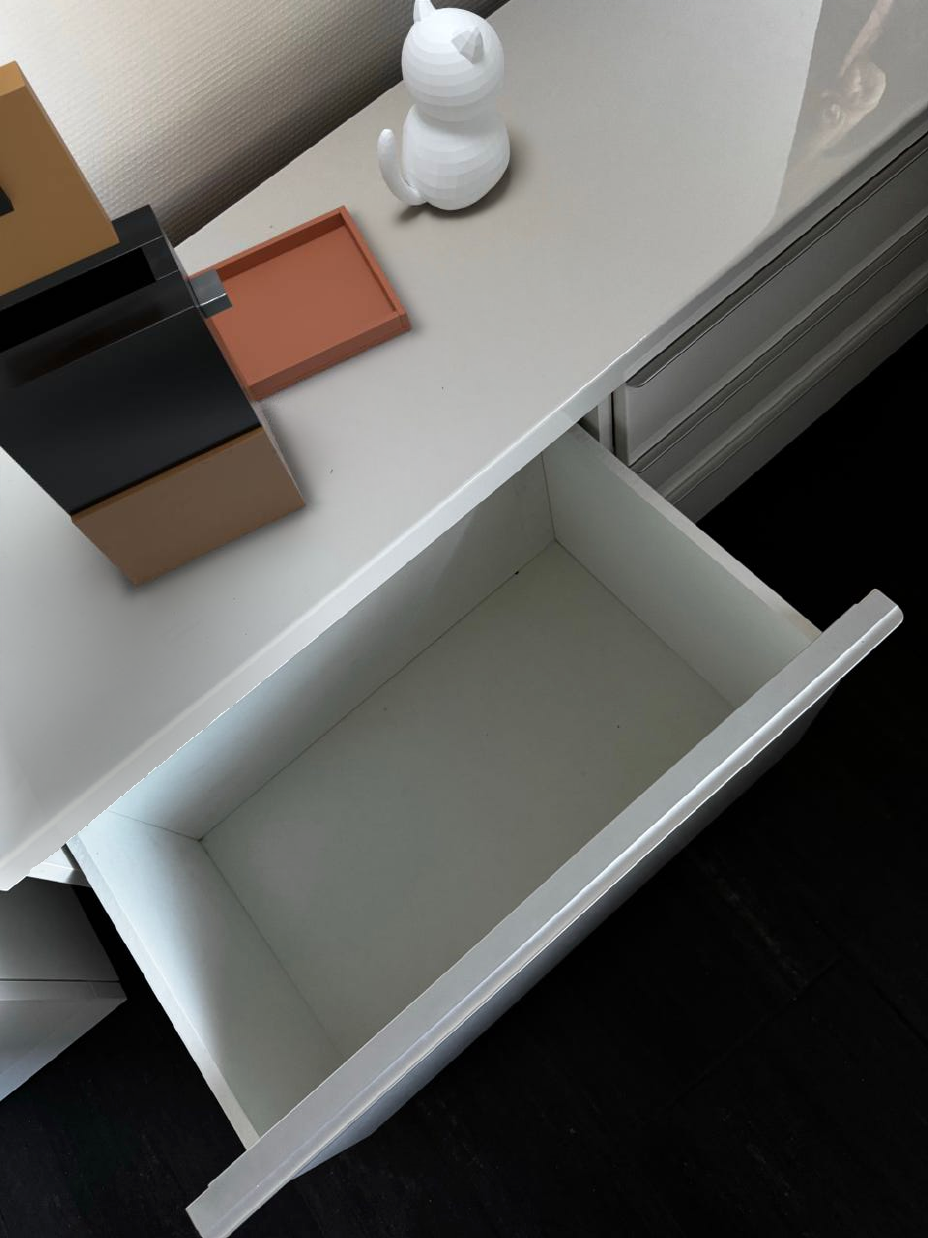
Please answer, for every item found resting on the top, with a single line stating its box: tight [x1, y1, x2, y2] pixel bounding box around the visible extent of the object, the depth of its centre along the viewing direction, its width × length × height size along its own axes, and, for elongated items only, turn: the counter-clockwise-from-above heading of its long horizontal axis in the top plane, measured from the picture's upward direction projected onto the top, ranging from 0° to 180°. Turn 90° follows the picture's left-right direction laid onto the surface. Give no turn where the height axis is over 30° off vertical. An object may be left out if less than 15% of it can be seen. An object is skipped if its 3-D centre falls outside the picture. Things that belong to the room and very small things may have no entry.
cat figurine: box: [376, 0, 511, 211], centre depth 82 cm, size 9×12×15 cm
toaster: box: [0, 203, 307, 587], centre depth 69 cm, size 16×10×22 cm, turn 115°
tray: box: [188, 204, 412, 402], centre depth 84 cm, size 15×13×2 cm
